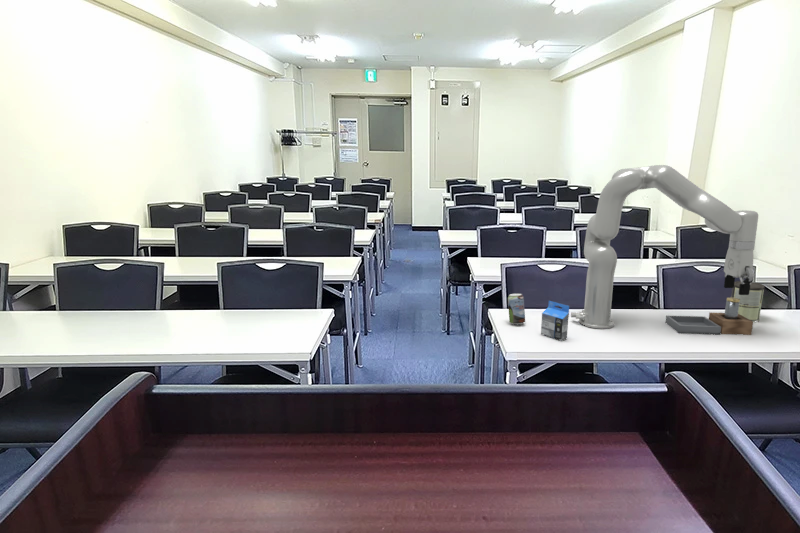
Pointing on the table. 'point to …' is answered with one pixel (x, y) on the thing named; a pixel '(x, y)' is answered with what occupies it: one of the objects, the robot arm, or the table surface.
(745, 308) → the coffee can
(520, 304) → the beverage can
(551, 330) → the label tape cartridge
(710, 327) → the tray
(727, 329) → the block
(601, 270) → the robot arm
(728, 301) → the steel pin
